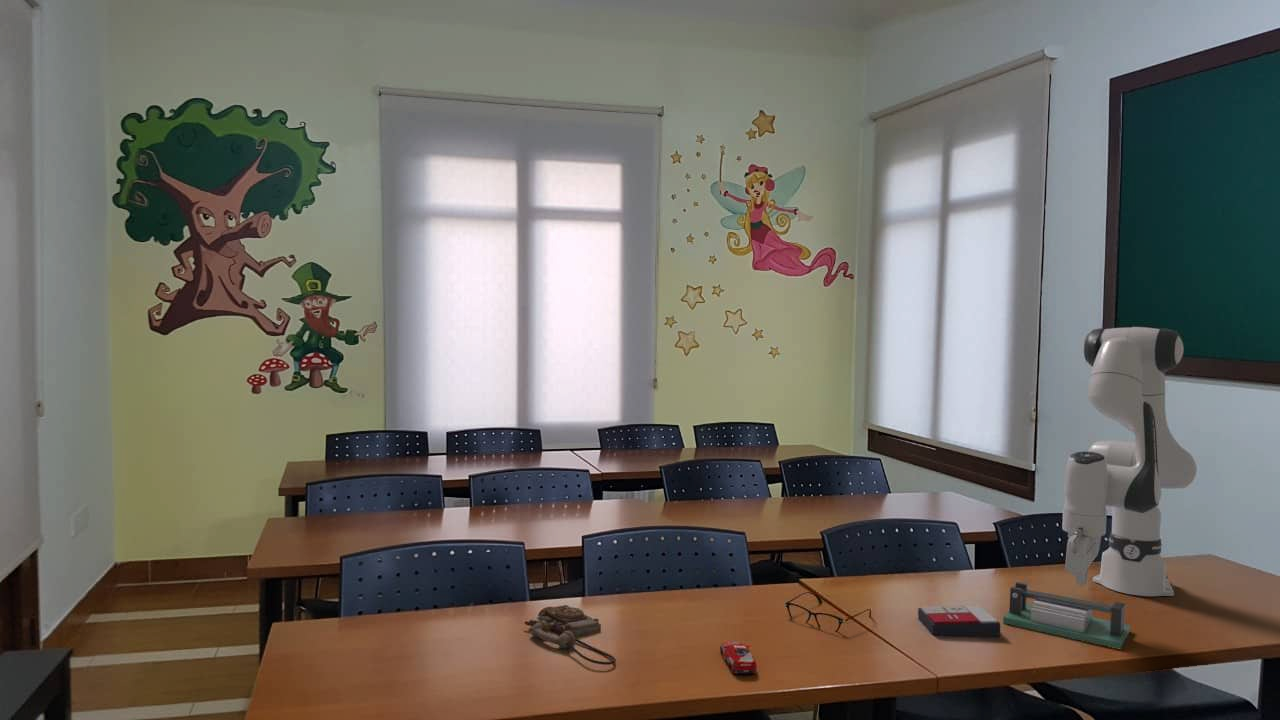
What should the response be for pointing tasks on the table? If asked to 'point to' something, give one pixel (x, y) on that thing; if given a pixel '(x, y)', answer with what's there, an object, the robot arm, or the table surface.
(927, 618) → the black and red box
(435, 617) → the table surface
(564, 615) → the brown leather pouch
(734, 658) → the race car
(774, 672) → the table surface
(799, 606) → the eyeglasses
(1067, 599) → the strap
